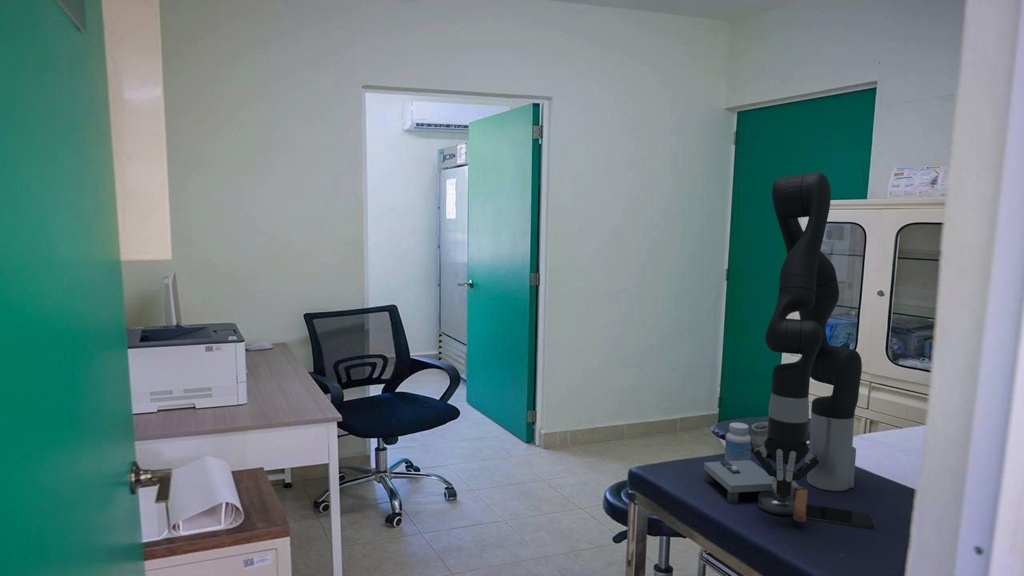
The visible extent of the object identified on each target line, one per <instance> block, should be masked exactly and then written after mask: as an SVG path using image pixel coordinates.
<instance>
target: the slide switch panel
mask: <svg viewBox="0 0 1024 576" xmlns="http://www.w3.org/2000/svg"><path fill="white" fill-rule="evenodd" d="M703 470H704V471H705V473H704V481H705V482H706V483H708V484H709V483H710V484H714V483H716V481H717V483H719V484H720V485H721V486H723V488H725V489H726V490H727V496H726V497H727V498H726V500H727V502H728V503H729V504H734V505H737V504H739V498H740V493H747V492H748V493H750V492H762V491H770V490H772V480H773V479H774V478H775V477H773V476H769V475H768V474H767V472H766V471H765V469H764V468H763V467H762V466H759V465H758V464H757V463H755V462H754V461H752V460H751V459H750V460H743V461H725V460H724V461H709V462H708V461H706V462H705V461H704V462H703Z"/></svg>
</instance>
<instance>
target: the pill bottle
mask: <svg viewBox="0 0 1024 576" xmlns="http://www.w3.org/2000/svg"><path fill="white" fill-rule="evenodd" d="M728 430H729V432H728V433H726V435H725V448H724V461H743V460H751V457H752V456H751V452H752V436H751V435H749V432H750V431H749V425H748V424H747V423H743V422H731V423H729V426H728Z"/></svg>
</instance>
